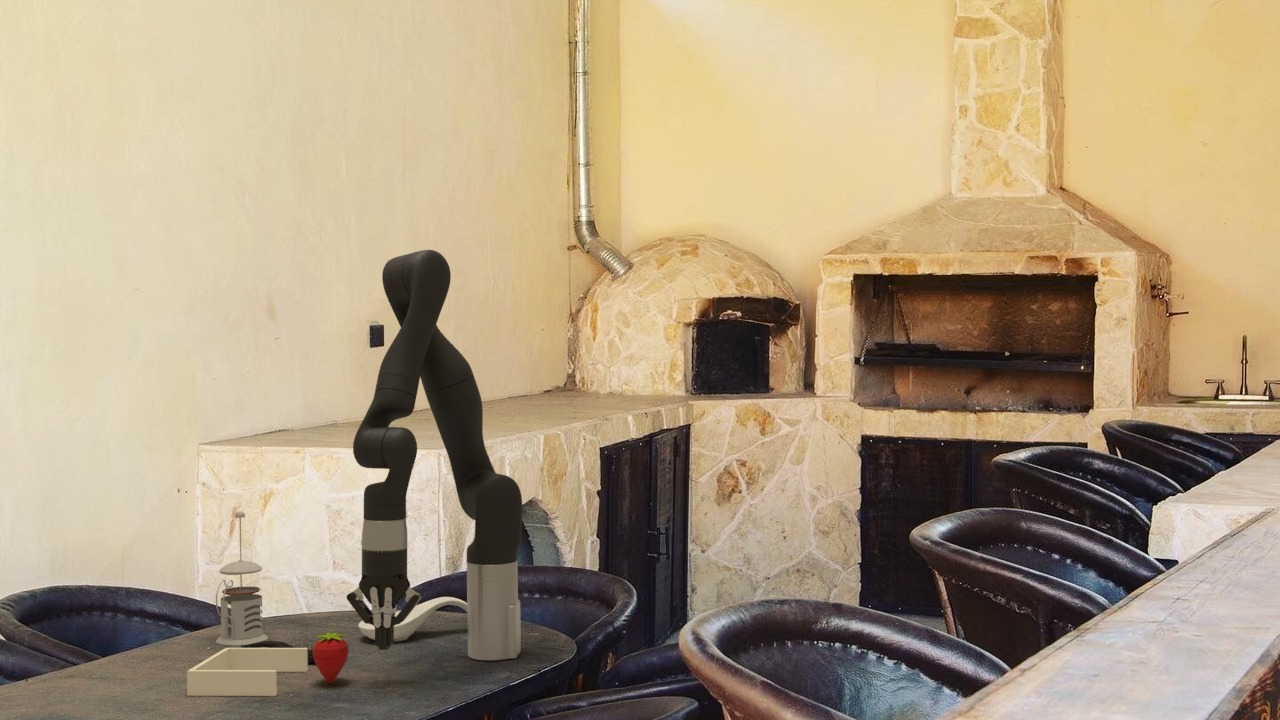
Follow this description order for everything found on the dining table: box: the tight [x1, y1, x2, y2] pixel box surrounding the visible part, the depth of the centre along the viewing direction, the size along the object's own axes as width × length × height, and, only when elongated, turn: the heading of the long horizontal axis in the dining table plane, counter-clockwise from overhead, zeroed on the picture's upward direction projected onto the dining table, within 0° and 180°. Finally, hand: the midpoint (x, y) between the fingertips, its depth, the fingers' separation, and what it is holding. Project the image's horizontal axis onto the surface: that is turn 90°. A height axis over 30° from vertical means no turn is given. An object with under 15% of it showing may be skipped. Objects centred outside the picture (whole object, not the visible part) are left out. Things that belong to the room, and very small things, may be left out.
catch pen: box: [186, 647, 309, 697], centre depth 220 cm, size 15×17×4 cm
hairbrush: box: [240, 640, 315, 664], centre depth 240 cm, size 8×4×25 cm
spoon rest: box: [358, 596, 467, 643], centre depth 255 cm, size 24×12×7 cm, turn 113°
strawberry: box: [312, 623, 350, 684], centre depth 219 cm, size 6×8×10 cm
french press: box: [215, 511, 269, 646], centre depth 253 cm, size 10×12×25 cm
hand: (384, 648), depth 219 cm, fingers closed
